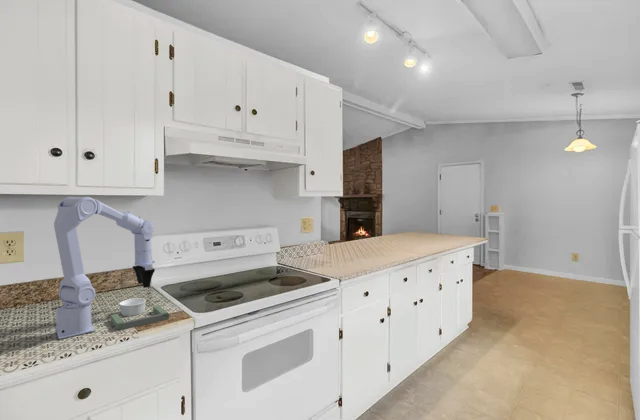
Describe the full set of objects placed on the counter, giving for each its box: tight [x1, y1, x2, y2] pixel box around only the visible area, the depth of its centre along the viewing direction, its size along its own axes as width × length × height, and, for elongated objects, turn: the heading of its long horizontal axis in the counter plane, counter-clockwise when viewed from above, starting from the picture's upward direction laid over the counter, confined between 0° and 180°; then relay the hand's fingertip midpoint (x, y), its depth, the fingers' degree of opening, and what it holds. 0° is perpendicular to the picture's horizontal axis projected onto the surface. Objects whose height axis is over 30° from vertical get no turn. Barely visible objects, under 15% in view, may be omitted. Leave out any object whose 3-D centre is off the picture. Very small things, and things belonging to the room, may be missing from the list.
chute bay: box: [110, 304, 170, 331], centre depth 123 cm, size 16×12×2 cm
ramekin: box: [119, 297, 147, 317], centre depth 131 cm, size 9×9×4 cm
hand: (143, 285), depth 135 cm, fingers open, 7 cm apart
